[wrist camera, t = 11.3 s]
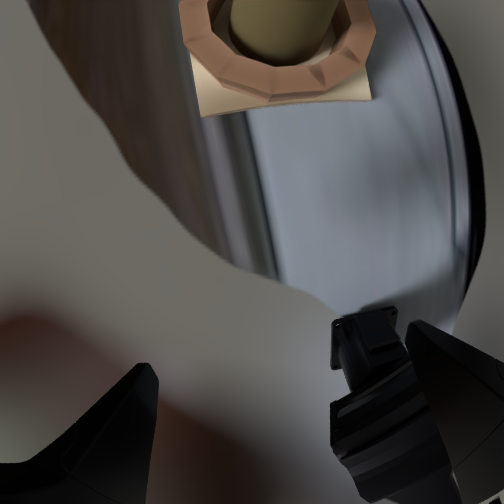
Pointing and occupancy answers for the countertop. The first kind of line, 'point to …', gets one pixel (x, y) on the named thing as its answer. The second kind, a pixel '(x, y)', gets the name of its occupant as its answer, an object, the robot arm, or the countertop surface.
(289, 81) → the socket board
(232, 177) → the countertop surface
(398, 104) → the countertop surface
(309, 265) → the countertop surface
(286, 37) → the cork
